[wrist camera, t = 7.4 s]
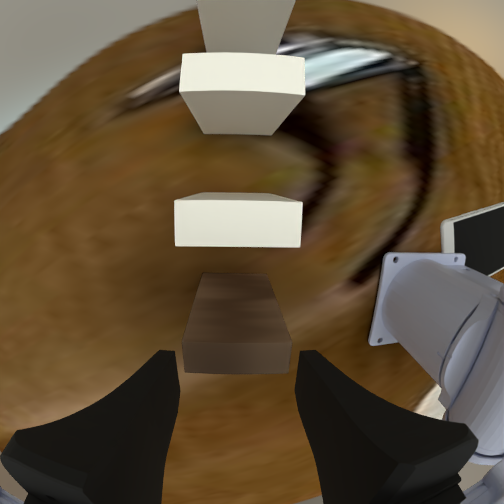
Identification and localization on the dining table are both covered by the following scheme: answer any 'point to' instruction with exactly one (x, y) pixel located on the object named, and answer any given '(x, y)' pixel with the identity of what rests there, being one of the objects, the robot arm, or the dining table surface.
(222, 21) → the ivory domino
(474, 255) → the smartphone
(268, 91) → the ivory domino
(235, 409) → the dining table surface
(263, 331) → the walnut domino
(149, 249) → the dining table surface
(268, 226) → the ivory domino
